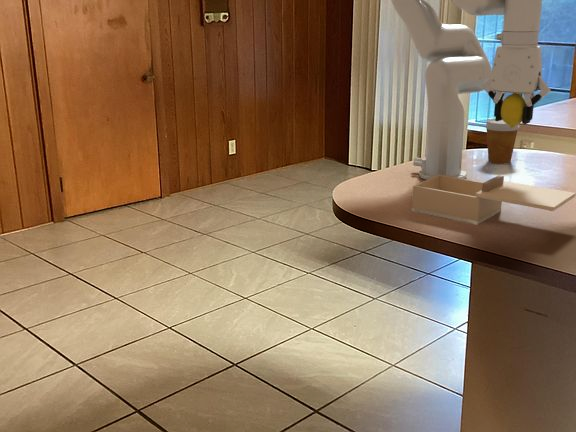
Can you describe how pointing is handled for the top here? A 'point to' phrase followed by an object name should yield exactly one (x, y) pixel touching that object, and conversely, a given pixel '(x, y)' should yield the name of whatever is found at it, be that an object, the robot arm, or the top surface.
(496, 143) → the disposable coffee cup
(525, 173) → the top surface
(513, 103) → the lemon
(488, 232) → the top surface
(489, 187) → the mailer lid
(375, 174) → the top surface
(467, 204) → the mailer box
